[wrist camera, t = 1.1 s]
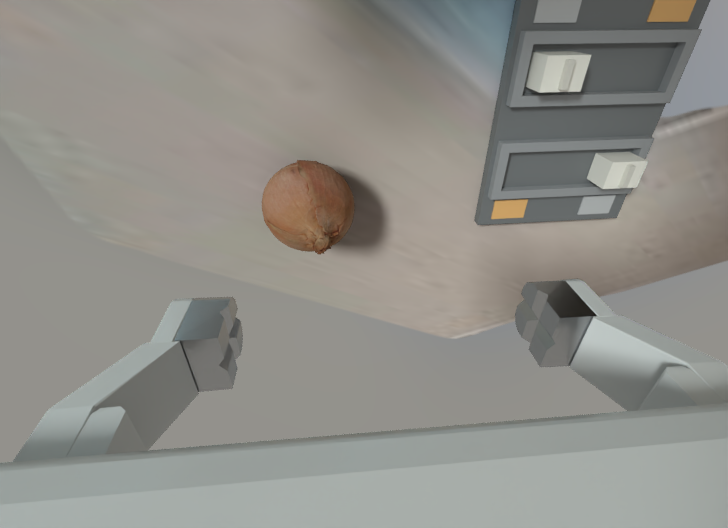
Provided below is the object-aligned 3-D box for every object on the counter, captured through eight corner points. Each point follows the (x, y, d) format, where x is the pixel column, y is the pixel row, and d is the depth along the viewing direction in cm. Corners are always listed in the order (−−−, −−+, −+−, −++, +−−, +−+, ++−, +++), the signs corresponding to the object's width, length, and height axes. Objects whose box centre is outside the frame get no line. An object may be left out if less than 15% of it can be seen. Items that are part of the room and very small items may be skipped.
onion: (336, 196, 47) (366, 259, 42) (260, 214, 44) (282, 283, 39) (336, 131, 39) (373, 198, 34) (244, 148, 36) (269, 224, 31)
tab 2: (595, 152, 42) (616, 164, 39) (629, 151, 42) (652, 163, 39) (586, 178, 44) (605, 191, 41) (619, 177, 44) (640, 189, 41)
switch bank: (519, -21, 33) (531, -23, 31) (708, -21, 35) (729, -22, 33) (474, 220, 47) (480, 229, 45) (610, 213, 48) (621, 221, 47)
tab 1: (532, 51, 35) (551, 56, 32) (572, 51, 36) (595, 55, 33) (524, 86, 37) (542, 94, 34) (563, 85, 37) (584, 92, 34)
